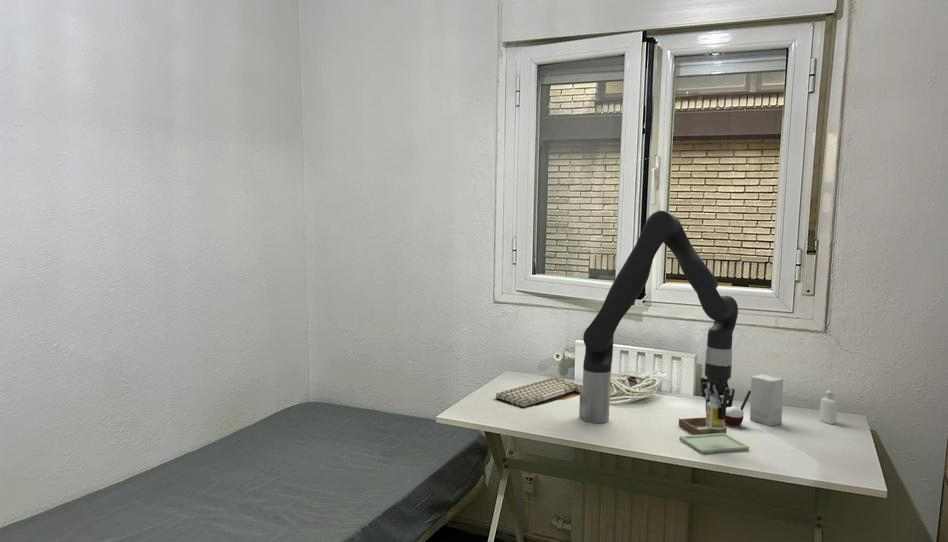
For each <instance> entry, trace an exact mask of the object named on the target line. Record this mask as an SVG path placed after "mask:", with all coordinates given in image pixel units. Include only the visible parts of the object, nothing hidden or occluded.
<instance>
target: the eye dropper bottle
mask: <svg viewBox="0 0 948 542" xmlns="http://www.w3.org/2000/svg"><path fill="white" fill-rule="evenodd" d="M834 394H835V393H834V391H833V390H832V387H828V390H826V391H825V396H824V397H822V398H821V399H820V405H819V407H820V408H819V421H821V422H823V423H826V424H828V425H835V424H837V416H838V415H837V413H838V401H836V399H834Z"/></svg>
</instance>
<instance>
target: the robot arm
mask: <svg viewBox="0 0 948 542" xmlns="http://www.w3.org/2000/svg"><path fill="white" fill-rule="evenodd" d="M679 219H680V218H678V216H676V215H675V214H673V213H671V212H669V211H666V210H656V211H655V212H653V213H651V215H649V217H648V218H647V219H646V222H645V223H644V226H643V228H642V230H641V232H640V234H639V237H638V239H637V241H636V243H635V244H634V247H633V249H632V250H631V252H630V254H629V255H628V257H627V258H626V260H625V262H624V264H623V265H622V267H621V268H620V270H619V271H618V273H617V276H616V277H615V279H614V281H613V283H612V285H610V286H611V287H610V288H609V290H608V292H607V295H606V297H605V300H604V302H603V304H602V306H601V308H600V310H599V312H598V313H597V315H596V316H595V317H594V319H593V320H592V322H590V324H589V325H588V327H586V329H585V330H584V332H583V343H584V346H585V351H584V358H583V366H582V367H583V369H582V370H583V371H582V384H583V389H582V390H580V395H579V405H578V406H579V407H578V411H579V412H578V417H579V418H580V419H581V420H583V421H584V422H585V423H592V424H604V423H608V422H609V421H610V402H611V401H610V400H611V399H610V398H611V397H610V396H611V378H612V362H613V354H614V353H613V352H614V334H615V332H616V330H617V328H618V326H619V324H620V322H621V320H622V319H623V318H624V317H625V315H626V314H627V312H629V310H630V309H631V308H632V306H633V305H634V303H636V300H637V299H638V298H639V296H640V295H641V293H642V291H643V290H644V288H645V286H646V284H647V282H648V280H649V277H650V273H651V269H652V265H653V262H654V261H653V260H654V258H655V256H656V254H657V252H658V251H659V249H660V248H661V246H662V245H663V243H664V244H665V246H666V247H668V249H669V250H670V251H671V252H672V253H673V255H674V257H675V258H676V260H677V262H678V264H679V266H680V269H681V271H682V273H683V274H684V277H685V278H686V280H687V282H688V283H689V284H690V286H691V287H692V288H693V291H694V292H695V293H696V296H697V298H698V300H699V303H700V306H701V309H702V310H703V311H704V314H706V316H707V317H708V318H709V319H711V320H713V324H712V326H711V327H710V328H709V329H708V331H707V340H706V349H705V359H704V360H705V361H704V376H705V377H701V378H700V393H701V394H700V395H701V397H702V398H703V399H704V400H705V410H706V409H707V403H708V402H709V401H710V395H715V398H716V400H717V401H718V406H719V407H718V417H717V418H718V419H719V420H724V419H725V417H726V408H727V407H732V406H733V402H734V395H735V391H736V390H735V388H731V387H730V386H729V383H728V382H729V379H731V377H732V367H733V366H732V365H733V363H732V362H733V349H732V348H733V334H734V330H735V329H736V328H735V327H736V324H737V320H738V316H739V306H738V303H737V301H736V300H735V298H733V297H732V296H730V295H721V294H720V293H719V292H718V289H717V288H718V285H719V283H718V281H717V279H716V277H715V276H714V275H713V273H712V272H711V270H710V269H709V267H707V265H706V264H705V262H704V261H703V260H702V258H701V257H700V255H699V254H698V253H697V251H696V250H695V247H693V245H692V243H691V241H690V240H689V238H688V236H687V234H686V232H685V229H684V228H683V224H682V223H681V221H680V220H679ZM720 396H723V397H720ZM721 400H723V402H721Z"/></svg>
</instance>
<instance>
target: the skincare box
mask: <svg viewBox="0 0 948 542" xmlns="http://www.w3.org/2000/svg"><path fill="white" fill-rule="evenodd" d="M783 390H784V379H783V378H781V377H775V376H772V375H767V374H763V373H762V374H757V375H753V376H751V379H750V391H751V393H750V403H749V404H750V405H749V408H750V410H749V420H750V421H752V420H753V422H755V423H758V424H759V423H760V424H762V425H766V426H769V427H772V426H777V425H780V424H782V422H783V421H782V420H783V418H782V417H783V393H784V391H783Z"/></svg>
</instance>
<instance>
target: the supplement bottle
mask: <svg viewBox="0 0 948 542" xmlns="http://www.w3.org/2000/svg"><path fill="white" fill-rule="evenodd" d="M723 396H724V395H723ZM723 396H720V397H723ZM721 402H722V403H723V400H721ZM718 407H719V406H718V401H717V400H716V398H715V395H710V401H709V402H708V403H707V409H706V408H705V413H706V414H705V417H706V425H705V426H706V428H711V429H723V428H724V427H725V423H724V421H725V419H724V420H719V419H718V418H717V417H718Z"/></svg>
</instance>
